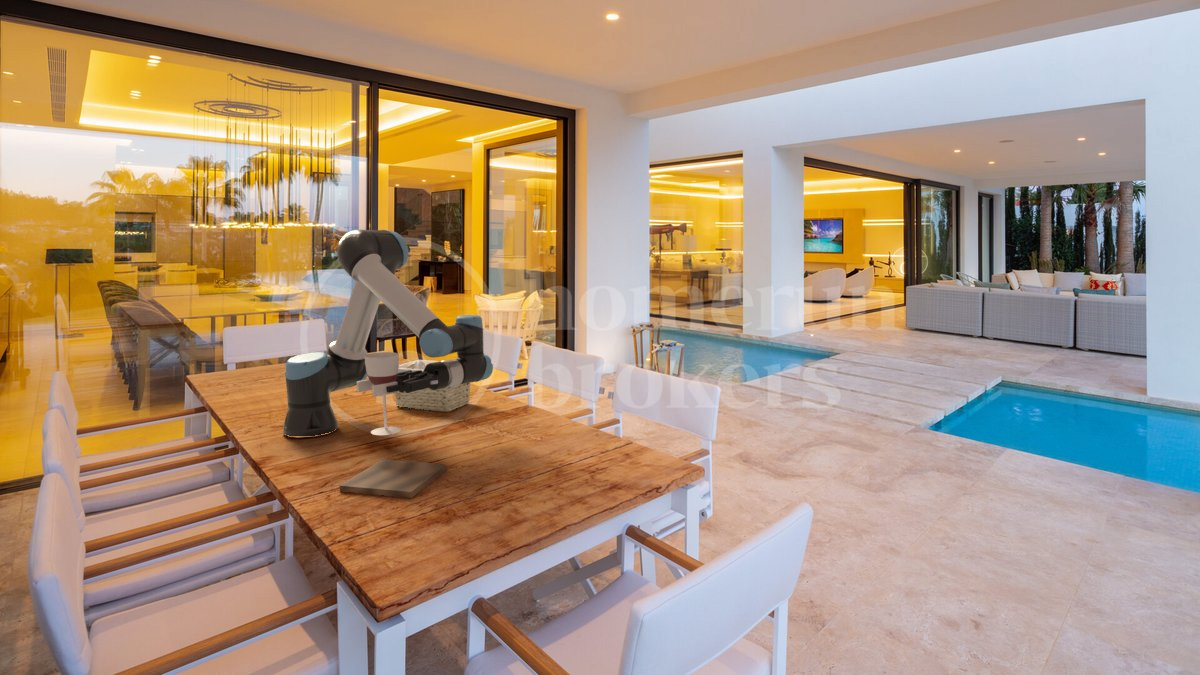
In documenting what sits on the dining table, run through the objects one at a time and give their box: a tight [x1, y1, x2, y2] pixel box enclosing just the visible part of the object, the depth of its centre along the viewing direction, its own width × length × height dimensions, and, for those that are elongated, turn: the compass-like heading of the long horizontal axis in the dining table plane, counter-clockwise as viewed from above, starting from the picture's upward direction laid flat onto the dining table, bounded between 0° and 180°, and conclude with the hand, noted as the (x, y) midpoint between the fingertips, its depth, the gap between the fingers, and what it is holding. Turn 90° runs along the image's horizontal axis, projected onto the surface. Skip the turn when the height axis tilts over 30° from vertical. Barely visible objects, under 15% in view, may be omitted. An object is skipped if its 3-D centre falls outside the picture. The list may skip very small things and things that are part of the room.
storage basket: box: [394, 359, 471, 413], centre depth 220 cm, size 24×16×15 cm
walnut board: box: [339, 458, 448, 499], centre depth 151 cm, size 18×18×2 cm
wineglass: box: [365, 351, 402, 436], centre depth 161 cm, size 8×9×20 cm
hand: (365, 389), depth 157 cm, fingers closed on wineglass, 7 cm apart
